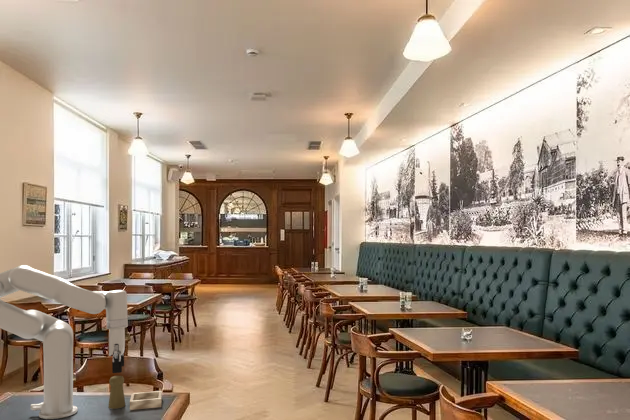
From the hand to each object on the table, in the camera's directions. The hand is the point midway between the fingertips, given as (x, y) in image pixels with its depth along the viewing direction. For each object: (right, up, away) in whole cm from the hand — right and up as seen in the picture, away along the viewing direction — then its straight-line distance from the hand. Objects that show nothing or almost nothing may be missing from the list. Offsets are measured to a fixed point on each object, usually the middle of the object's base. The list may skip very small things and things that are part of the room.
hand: (118, 369), depth 205 cm
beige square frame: (+10, -13, +1) cm, 17 cm away
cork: (0, -14, -1) cm, 14 cm away
